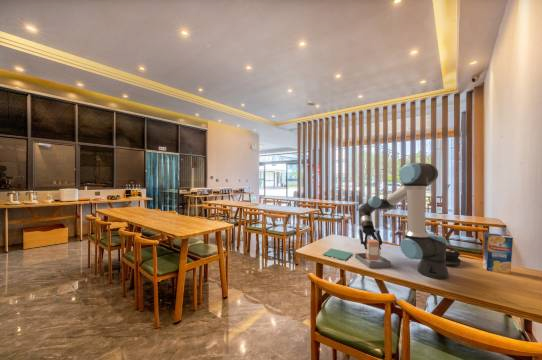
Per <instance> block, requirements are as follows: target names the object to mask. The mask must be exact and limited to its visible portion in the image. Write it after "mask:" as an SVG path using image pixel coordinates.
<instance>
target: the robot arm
mask: <svg viewBox="0 0 542 360" xmlns="http://www.w3.org/2000/svg"><path fill="white" fill-rule="evenodd" d="M398 177H399V181H400V182H401V183H402V184H403V185H402V186H400V187H399V188H398V189H396V190H394V191H393V192H392V193H391V194H388V195H387V196H386V197H384V198H381V197H378V196H376V195H375V196H372V197H371V198H369V199H368V200H367V201H366V203H361V204H359V205H358V214H359V218H360V223H361V228H362V229H359V230H358V234H359V239H360V245H363V247H364V249H365V251H366V250H367V254H368V255H369V254H370V251H369V247H368V244H366V243H367V239H368V236H371V238H372V239H375V240H377V241H378V242H379V255H380V256H381V253H382V252H381V250H382V247H381V246H382V245H383V239H382V238H381V237H382V236H381V234H380V233H381V232H380V230H376V228H375V227H374V222H373V218H372V213H374V212H375V211H376V210H377V211H378V210H381V211H382V210H393V209H395V208H396V205H397V204H399V203H401V202H402V201H404V200H405V199H406V207H407V208H406V211H407V212H406V213H407V231H406V232H405V233H404V238H402V240H401V241H400V242H399V243H400V250H401V252H402V253H403V254H404V256H405V257H406V258H407V259H410V260H419V263H418V265H417V272H418V273H419V274H420V275H423V276H426V277H429V278H431V279H432V278H433V279H437V280H446V279H449V275H450V273H449V271H448V267H447V264H446V263H445V262H446V246H447V245H448V243H447V238H446V237H445V236H441V235H438V234H435V233H429V232H426V210H425V209H426V207H425V205H426V204H425V203H426V202H425V195H426V194H425V189H427V188H428V187H429V186H431V185H433V183H434V182H436V180H437V179H438V177H439V170H438V169H437V167H436V166H435V165H433V164H431V163H424V162H422V163H421V162H410V163H409V162H408V163H405V164H404V165H403V166H402V167H401V168H400V170H399V172H398Z"/></svg>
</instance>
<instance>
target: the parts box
mask: <svg viewBox="0 0 542 360" xmlns="http://www.w3.org/2000/svg"><path fill="white" fill-rule="evenodd" d="M366 244H368V247H369V251H370V254H369V255H368V254H367V250H366V249H365V253H366V257H367V258H366V260H367V261H378V262H379V260H378V259H379V242H378V241H377V240H375V239H373V238H371V239H370V238H367V243H366Z"/></svg>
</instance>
